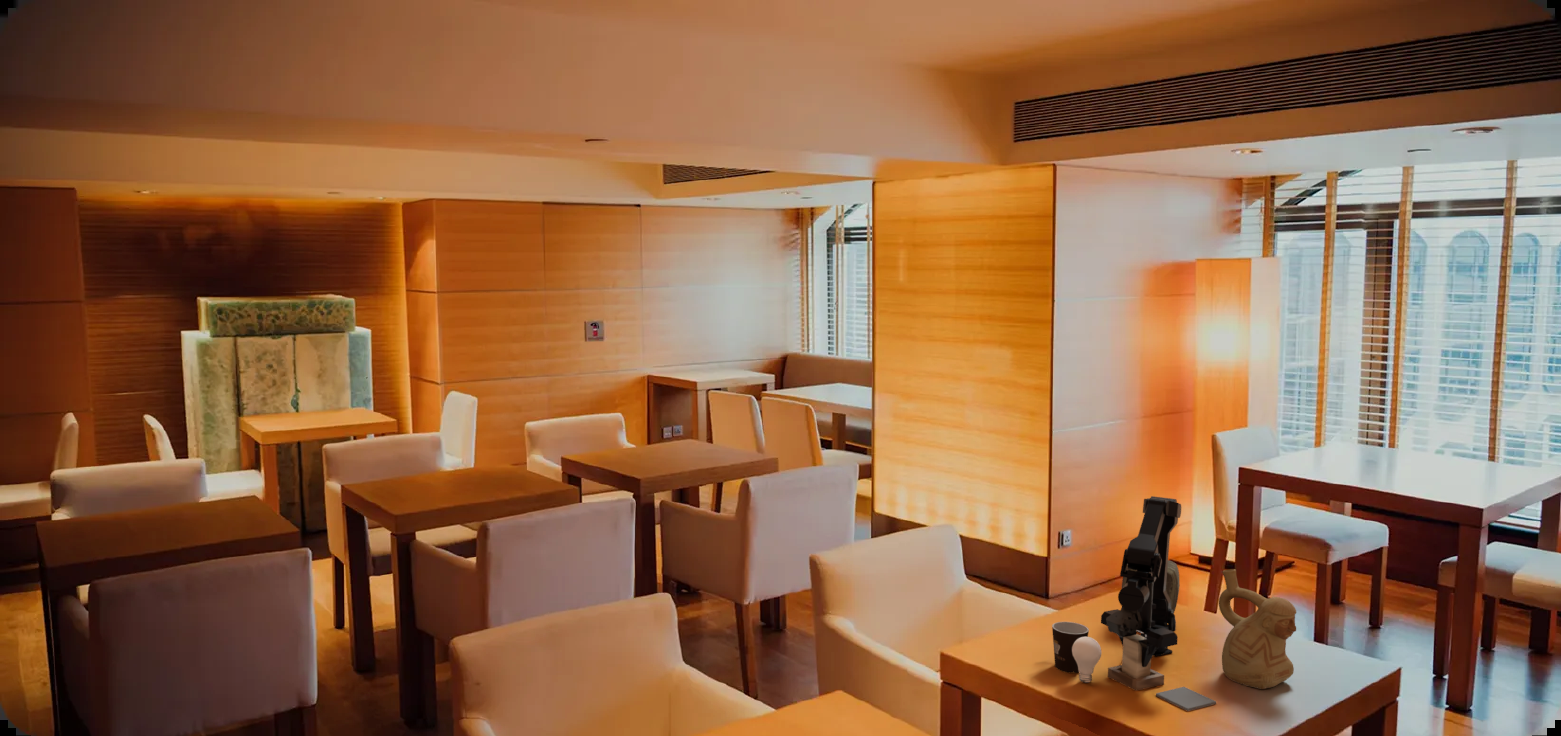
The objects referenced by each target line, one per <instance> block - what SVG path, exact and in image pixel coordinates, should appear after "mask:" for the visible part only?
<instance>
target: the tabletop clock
mask: <svg viewBox="0 0 1561 736" xmlns="http://www.w3.org/2000/svg"><path fill="white" fill-rule="evenodd" d="M1126 570H1132V569H1128V564H1127V567H1126ZM1126 570H1125V572H1126ZM1132 571H1137V570H1132ZM1179 571H1180V570H1179V567H1178V565H1177V563H1175V562H1174V561H1172V560H1169V559H1168V566H1167V579H1166V592H1167V594H1168V596H1169V598H1170V600H1171V609H1173V612H1174V613H1175V611H1176V608H1177V604H1178V599H1179V593H1180V572H1179ZM1126 581H1127V577H1122V581H1121V589H1122V588H1123V587H1124V585H1125V584H1126ZM1167 624H1169V623H1167Z"/></svg>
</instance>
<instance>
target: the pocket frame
mask: <svg viewBox="0 0 1561 736" xmlns="http://www.w3.org/2000/svg"><path fill="white" fill-rule="evenodd" d="M1107 678H1109V679H1111V680H1112V681H1115V682H1118V683H1120V684H1122V685H1123V686H1126V687H1128V688H1130V689H1132V690H1134V691H1141V690H1145V689H1150V688H1153V687H1158V686H1163V685H1164V684H1165V674H1164V673H1160V672H1158V671H1156V670H1154V669H1151V668H1150V676H1146V677H1142V678H1138V679H1136V678H1134V677H1132V676H1129V675H1127V674H1125V673H1123V672H1122V664H1120V665H1115V666H1110V667H1108V668H1107Z"/></svg>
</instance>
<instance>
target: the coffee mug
mask: <svg viewBox="0 0 1561 736" xmlns="http://www.w3.org/2000/svg"><path fill="white" fill-rule="evenodd" d="M1051 629H1052V630H1051V631H1052V642H1053V643H1052V644H1053V655H1054V656H1053V657H1054V667H1055V668H1056V669H1057V670H1059V671H1061V672H1063V673H1064V672H1065V673H1069V672H1070V674H1072V673H1073V674H1074V673H1079V671H1078V665H1077V662H1076V660H1075V659H1074V657H1073V654H1072V646H1073V644H1074V642H1075V641H1076V640H1077V639H1079V638H1081V637H1089V630H1090V629H1089V628H1088V627H1087V626H1086V625H1084V624H1081V623H1079V622H1078V623H1077V622H1074V621H1058V622H1054V623H1052V624H1051Z"/></svg>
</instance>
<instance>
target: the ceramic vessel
mask: <svg viewBox="0 0 1561 736" xmlns="http://www.w3.org/2000/svg"><path fill="white" fill-rule="evenodd" d="M1222 575H1223V577H1224V581H1225V587H1226V589H1224V590H1223V591H1222V592H1221V594H1220V596H1219V599H1218V608H1219V612H1220V613H1221V614H1222V617H1223V618H1224V620H1226V621H1227V622H1228V623H1229V624H1230V625H1231V626H1233V627H1232V629H1231V630H1230V631H1229V632H1228V634H1227V636H1226V638H1225V640H1224V644H1223V648H1222V653H1221V665H1222V666H1221V667H1222V671H1223V674H1224V675H1225V677H1226V678H1228V679H1229V680H1231V681H1233V682H1235V683H1238V684H1240V685H1243V686H1246V687H1250V688H1256V689H1259V690H1266V689H1270V688H1274V687H1276V686H1278V685H1279V684H1281V683H1284V682H1286V681H1287V680H1288V679H1289V678H1291V676H1293V674H1294V672H1295V671H1294V670H1295V667H1294V664H1293V661H1291V660H1290V658H1289V657H1288V655H1287V654H1286V653H1287V652H1286V646H1287V640H1288V639H1289V638H1290V637H1292V635H1293V634H1294V633H1295V632H1297V626H1296V614H1297V609H1296V607H1295V606H1294V605H1293V603H1292V602H1291V601H1290V600H1288V599H1286V598H1283V597H1281V596H1279V597H1278V596H1273V597H1269V598H1266V597H1264V596H1263V595H1261V594H1259V593H1258V592H1256V591H1253V590H1250V589H1248V588H1244V587H1243V588H1242V587H1240V586H1239V583H1238V578H1237V569H1235V568H1230V569H1224V570H1222ZM1235 598H1236V599H1244V600H1246V601H1249V602H1250V603H1252V604H1253V605H1255V606H1256V607H1257V610H1256V611H1255V612H1253V613H1252V614H1250V615H1249V616H1247V617H1242V616H1240V615H1238V614H1237V613H1235V611H1234V610H1233V608H1232V606H1231V601H1232V600H1233V599H1235Z"/></svg>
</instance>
